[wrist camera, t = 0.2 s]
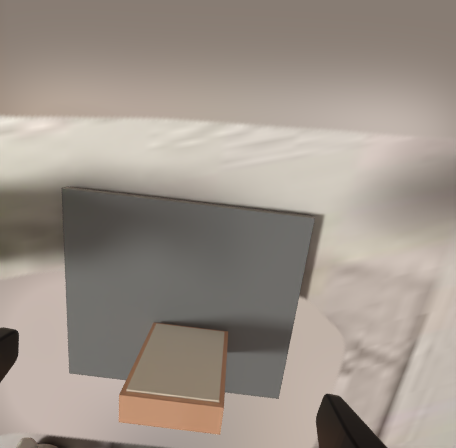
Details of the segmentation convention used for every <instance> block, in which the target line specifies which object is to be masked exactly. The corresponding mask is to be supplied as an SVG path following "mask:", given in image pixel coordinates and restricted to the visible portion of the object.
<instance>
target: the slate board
mask: <svg viewBox="0 0 456 448" xmlns="http://www.w3.org/2000/svg"><path fill="white" fill-rule="evenodd" d="M62 207H63V231H64V255H65V279H66V303H67V327H68V351H69V373H71V374H79V375H80V374H81V375H88V376H97V377H104V378H112V379H120V380H127V378H128V375H129V373H130V371H131V369H132V367H133V365H134V363H135V361H136V359H137V356H138V354H139V352H140V350H141V348H142V346H143V344H144V342H145V340H146V337H147V335H148V333H149V331H150V329H151V327H152V325H153V323H163V324H171V325H179V326H187V327H196V328H204V329H212V330H220V331H228V344H227V361H226V378H225V392H228V393H235V394H243V395H251V396H259V397H268V398H276V399H279V394H280V389H281V384H282V379H283V374H284V369H285V364H286V359H287V354H288V349H289V344H290V339H291V334H292V329H293V324H294V319H295V314H296V309H297V304H298V299H299V294H300V289H301V284H302V279H303V274H304V269H305V264H306V259H307V254H308V249H309V244H310V239H311V235H312V230H313V225H314V220H315V218H314V217H313V216H311V215H302V214H294V213H285V212H277V211H269V210H260V209H252V208H243V207H235V206H227V205H218V204H210V203H201V202H193V201H185V200H176V199H168V198H159V197H151V196H143V195H134V194H126V193H117V192H109V191H101V190H92V189H84V188H75V187H65V188H62Z"/></svg>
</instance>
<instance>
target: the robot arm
mask: <svg viewBox="0 0 456 448" xmlns="http://www.w3.org/2000/svg"><path fill="white" fill-rule="evenodd" d="M18 341H19V333H18V331H17V330H14V329H9V328H0V382H1V381H2V380H3V378H4V377H5V375H6V374H7V373H8V371H9V370H10V369H11V367H12V366H13V365H14V363H15V361H16V359H17V357H18V345H19V343H18ZM316 426H317V435H318V442H319V448H387V447H386V446H385V445H384V444H383V442H382V441H381V440H380V439H379V438H378V437H377V436H376V435H375V434H374V433H373V432H372V430H371V429H370V428H369V427H368V426H367V425H366V424H365V423H364V422H363V421H362V420H361V418H360V417H359V416H358V415H357V414H356V413H355V412H354V411H353V410H352V409H351V408H350V407H349V405H348V404H347V403H346V402H345V401H344V400H343V399H342V398H341V397H340V396H337V395H332V394H326V395H324V397H323V399H322V402H321V405H320V408H319V410H318V413H317V417H316Z"/></svg>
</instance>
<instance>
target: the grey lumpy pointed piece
mask: <svg viewBox="0 0 456 448" xmlns="http://www.w3.org/2000/svg"><path fill="white" fill-rule="evenodd" d="M16 448H58V447H56V446H54V445H51V444H37V443H36V441H35V440H34V439H32V438H22V439H21V441H20V442H19V443H18V445H17V446H16Z"/></svg>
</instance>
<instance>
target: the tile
mask: <svg viewBox="0 0 456 448" xmlns="http://www.w3.org/2000/svg"><path fill="white" fill-rule="evenodd" d="M227 344H228V331H220V330H212V329H204V328H196V327H187V326H179V325H171V324H163V323H153V325H152V327H151V329H150V331H149V333H148V335H147V337H146V340H145V342H144V344H143V346H142V348H141V350H140V352H139V354H138V356H137V359H136V361H135V363H134V365H133V367H132V369H131V371H130V373H129V375H128V378H127V380H126V382H125V384H124V386H123V388H122V390H121V392H120V395H119V422H122V423H130V424H138V425H147V426H154V427H162V428H171V429H179V430H187V431H195V432H203V433H212V434H220V431H221V424H222V417H223V409H224V394H225V378H226V361H227Z"/></svg>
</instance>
